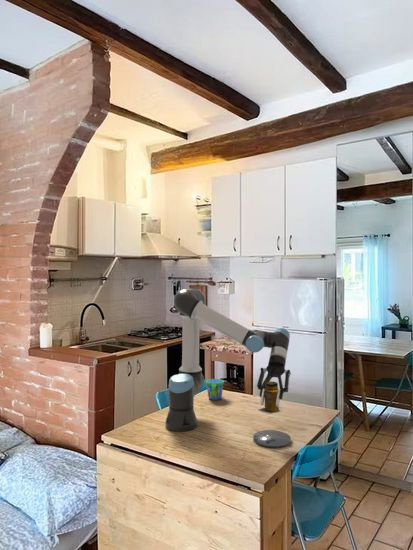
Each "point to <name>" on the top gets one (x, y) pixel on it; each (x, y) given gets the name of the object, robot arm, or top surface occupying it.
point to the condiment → (270, 398)
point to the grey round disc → (271, 439)
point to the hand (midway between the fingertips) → (269, 404)
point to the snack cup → (214, 388)
